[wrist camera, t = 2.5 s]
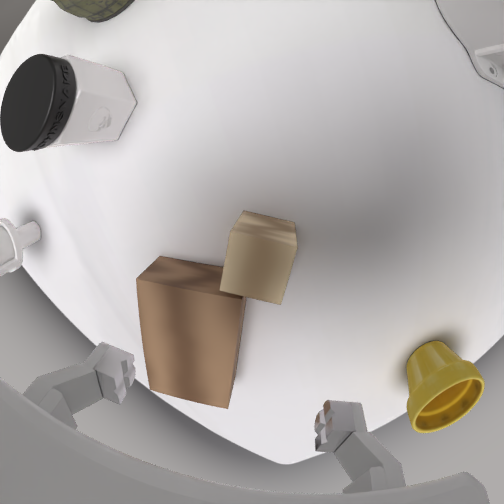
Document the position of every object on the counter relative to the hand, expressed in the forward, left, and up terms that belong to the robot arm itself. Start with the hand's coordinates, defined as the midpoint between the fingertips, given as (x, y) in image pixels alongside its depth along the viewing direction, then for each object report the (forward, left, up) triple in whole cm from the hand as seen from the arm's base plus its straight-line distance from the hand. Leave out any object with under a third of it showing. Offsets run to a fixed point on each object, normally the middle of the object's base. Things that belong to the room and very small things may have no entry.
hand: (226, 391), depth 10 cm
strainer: (+32, +6, -19) cm, 38 cm away
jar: (+20, -11, -19) cm, 30 cm away
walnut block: (+5, +12, -19) cm, 23 cm away
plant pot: (-26, +11, -19) cm, 34 cm away
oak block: (0, 0, -19) cm, 19 cm away
